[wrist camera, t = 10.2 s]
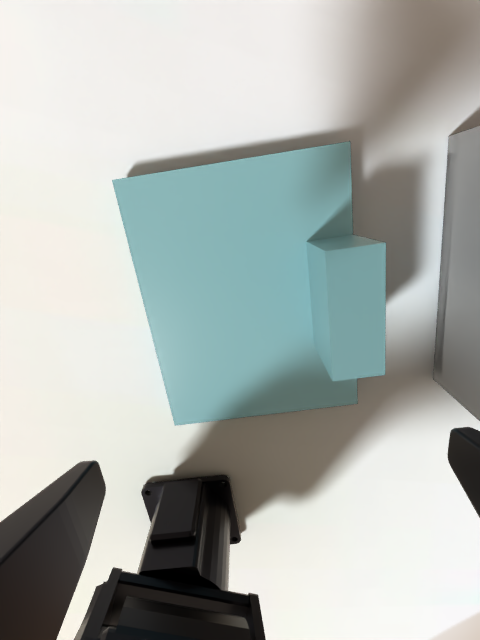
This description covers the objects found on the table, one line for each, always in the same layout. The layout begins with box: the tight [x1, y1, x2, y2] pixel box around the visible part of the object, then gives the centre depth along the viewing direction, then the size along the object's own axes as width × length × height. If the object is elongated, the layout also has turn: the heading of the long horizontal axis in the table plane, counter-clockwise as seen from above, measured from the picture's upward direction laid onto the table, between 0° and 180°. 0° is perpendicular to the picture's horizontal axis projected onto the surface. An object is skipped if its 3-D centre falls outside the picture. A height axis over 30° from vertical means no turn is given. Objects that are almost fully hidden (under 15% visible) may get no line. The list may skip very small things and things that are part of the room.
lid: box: [112, 141, 386, 425], centre depth 17 cm, size 15×12×6 cm
